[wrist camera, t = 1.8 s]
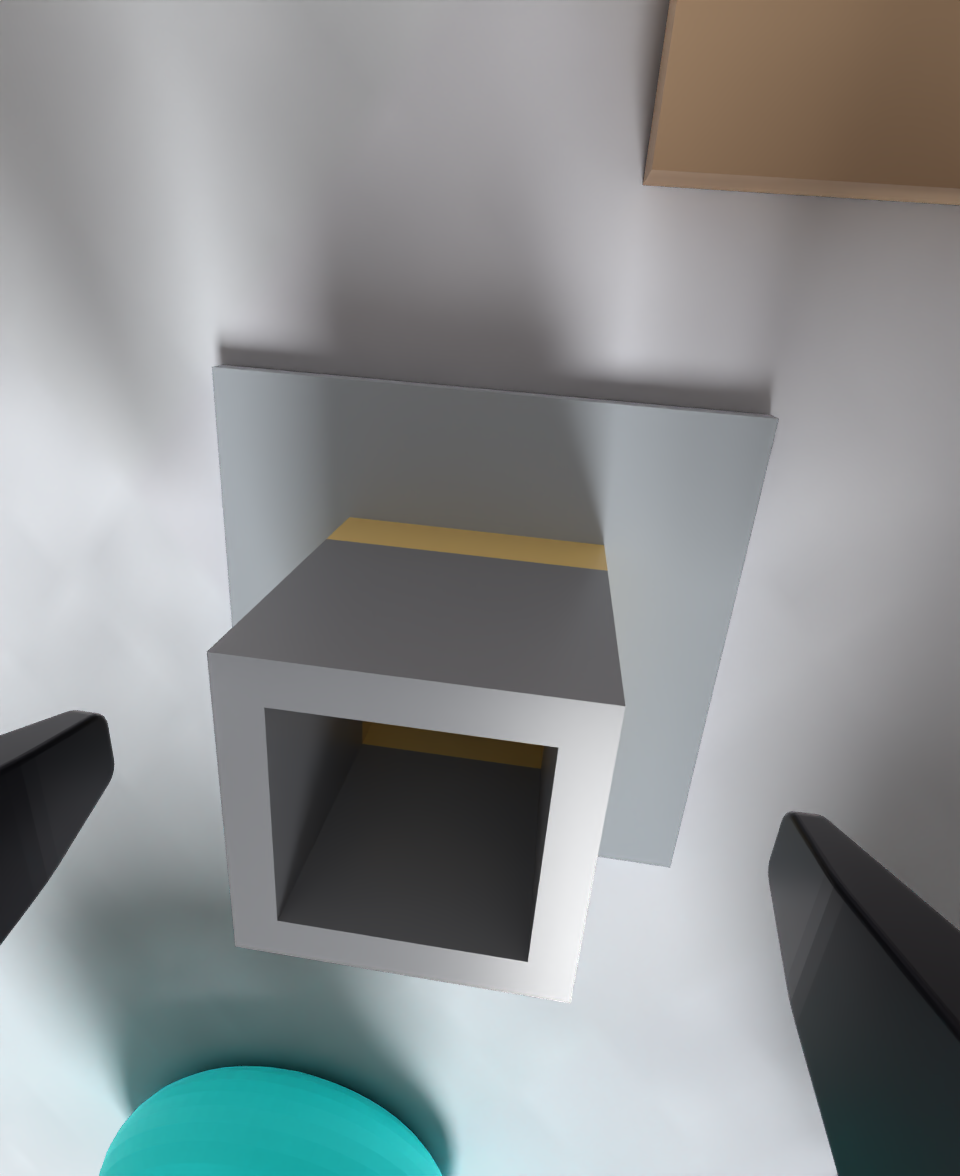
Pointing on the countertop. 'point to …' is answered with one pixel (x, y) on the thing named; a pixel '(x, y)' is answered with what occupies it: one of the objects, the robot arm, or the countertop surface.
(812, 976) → the robot arm
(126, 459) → the countertop surface
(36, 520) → the countertop surface
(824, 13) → the pin board
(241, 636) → the sleeve
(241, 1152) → the donuts
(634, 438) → the mat
